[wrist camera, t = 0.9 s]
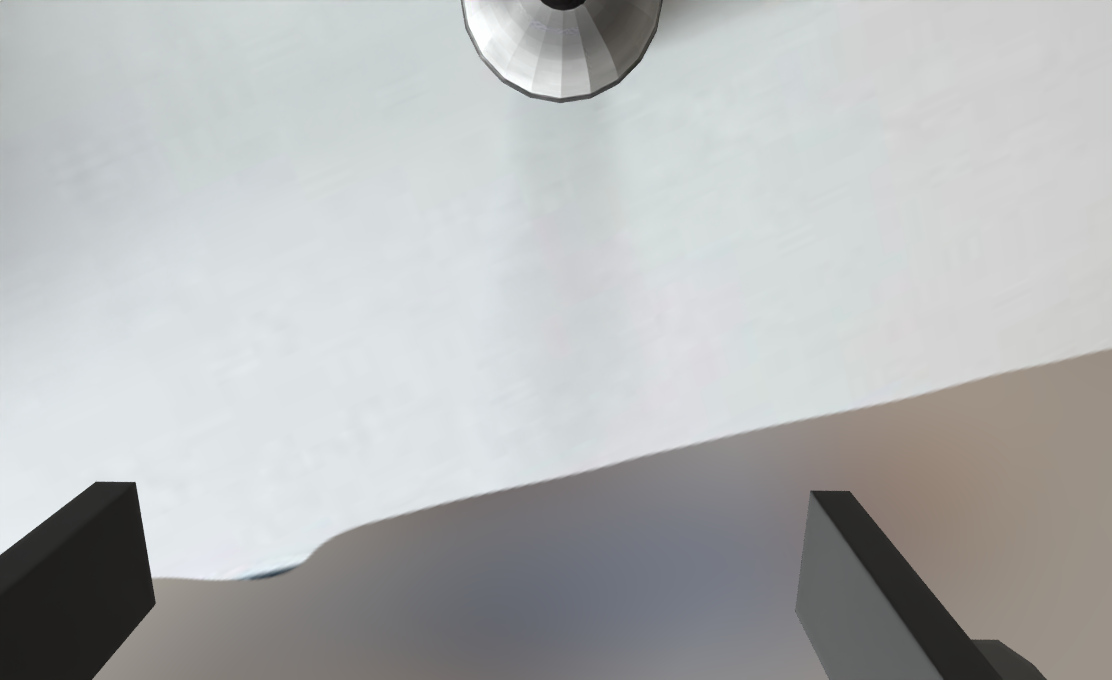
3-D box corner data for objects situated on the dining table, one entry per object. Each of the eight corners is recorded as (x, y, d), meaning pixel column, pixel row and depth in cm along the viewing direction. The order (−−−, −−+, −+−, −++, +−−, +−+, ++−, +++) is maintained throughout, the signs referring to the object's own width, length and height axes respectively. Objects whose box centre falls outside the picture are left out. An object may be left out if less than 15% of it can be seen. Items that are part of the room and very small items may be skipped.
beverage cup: (486, -45, 36) (410, -248, 16) (632, -42, 36) (727, -242, 17) (488, 110, 38) (423, 89, 18) (626, 111, 38) (705, 92, 19)
